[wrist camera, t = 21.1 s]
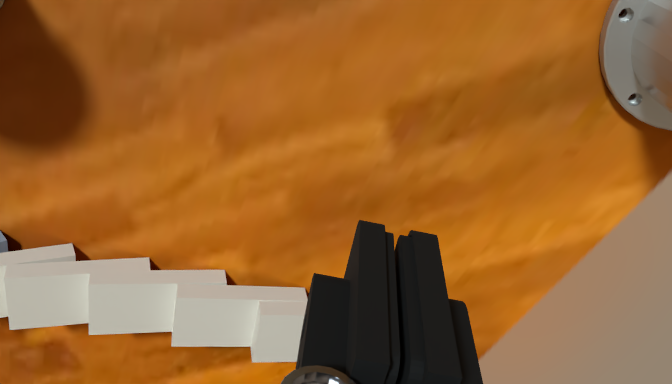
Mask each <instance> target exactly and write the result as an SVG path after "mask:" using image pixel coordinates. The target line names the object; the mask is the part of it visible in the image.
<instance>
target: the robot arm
mask: <svg viewBox="0 0 672 384" xmlns="http://www.w3.org/2000/svg"><path fill="white" fill-rule="evenodd" d="M623 9H624V10H625V11H624V14H623V15H622V16H619V13H620V12H621V10H623ZM599 57H600V65H601V72H602V74H603V77H604V80H605V82H606V85H607V87H608V89H609V90H610V92H611V93H612V95H613V96H614V98H615V99H616V101H617V102H618V103H619V104H620V105H621V106H622V107H623V108H624V109H625V110H626V111H627V112H629V113H630V114H632V115H633V116H634V117H636V118H637V119H638V120H640V121H642V122H644V123H647V124H649V125H651V126H654V127H656V128H661V129H666V130H671V131H672V0H612V2H611V5H610V7H609V9H608V11H607V13H606V16H605V20H604V23H603V27H602V31H601V34H600V47H599ZM632 94H633V96H632V97H631V98H629V97H630V95H632ZM281 384H483V381H482V377H481V372H480V367H479V363H478V358H477V353H476V349H475V344H474V339H473V335H472V330H471V325H470V321H469V316H468V311H467V307H466V305H465V303H464V302H463V301H458V300H453V299H448V294H447V288H446V283H445V277H444V271H443V266H442V260H441V254H440V249H439V243H438V238H437V235H433V234H428V233H423V232H418V231H413V230H411V231H410V232H409V234H408V236H404V235H400V236H399V238H398V241H397V244H396V247H395V251H394V236H393V233H388V232H385V225H382V224H377V223H372V222H367V221H362V220H359V222H358V225H357V229H356V232H355V236H354V240H353V244H352V248H351V252H350V256H349V260H348V264H347V268H346V272H345V276H344V279H342V278H337V277H332V276H327V275H321V274H316V273H314V275H313V278H312V283H311V287H310V292H309V296H308V301H307V306H306V310H305V316H304V321H303V326H302V332H301V338H300V344H299V351H298V357H297V364H296V370H294V371H292V372H291V373H290V374H288V375H287V376H286V377H285V378H284V379H283V381H282V383H281Z"/></svg>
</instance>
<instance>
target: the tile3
mask: <svg viewBox="0 0 672 384" xmlns="http://www.w3.org/2000/svg"><path fill="white" fill-rule="evenodd" d="M177 284H206V285H227V281H226V275H225V270H114V271H90V276H89V284H88V301H89V335H99V334H124V333H150V332H172V328H173V319H174V310H175V301H176V292H177Z"/></svg>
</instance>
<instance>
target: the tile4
mask: <svg viewBox="0 0 672 384" xmlns="http://www.w3.org/2000/svg"><path fill="white" fill-rule="evenodd" d="M114 270H150V262H149V257H148V258H128V259H108V260H88V261H68V262H49V263H29V264H9V265H6V271H5V276H4V283H5V292H6V300H7V309H8V318H9V327H10V330H16V329H27V328H38V327H50V326H61V325H72V324H84V323H89V301H88V284H89V276H90V271H114Z"/></svg>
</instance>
